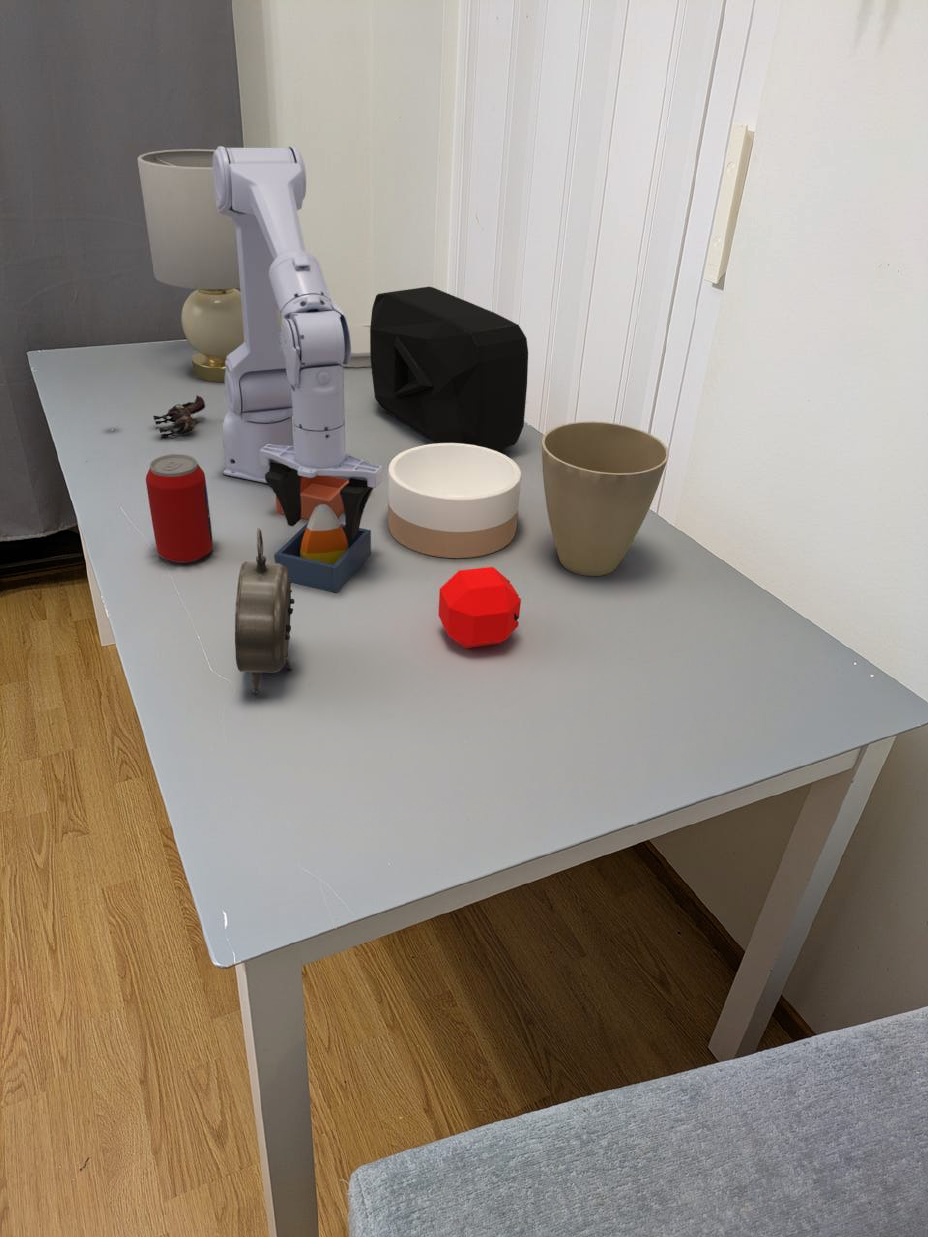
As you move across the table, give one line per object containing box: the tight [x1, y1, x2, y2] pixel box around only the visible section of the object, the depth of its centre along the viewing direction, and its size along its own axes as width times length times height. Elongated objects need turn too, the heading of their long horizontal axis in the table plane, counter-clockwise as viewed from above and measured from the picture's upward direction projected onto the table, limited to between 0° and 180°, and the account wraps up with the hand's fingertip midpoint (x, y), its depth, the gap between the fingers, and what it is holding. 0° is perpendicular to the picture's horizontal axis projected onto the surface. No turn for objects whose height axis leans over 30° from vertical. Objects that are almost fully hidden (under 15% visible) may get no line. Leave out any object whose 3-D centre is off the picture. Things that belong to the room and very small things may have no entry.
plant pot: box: [541, 420, 670, 577], centre depth 112 cm, size 15×15×16 cm
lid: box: [342, 325, 371, 369], centre depth 178 cm, size 17×20×3 cm
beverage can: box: [145, 453, 214, 564], centre depth 110 cm, size 7×7×12 cm
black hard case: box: [369, 286, 529, 452], centre depth 144 cm, size 30×12×20 cm, turn 37°
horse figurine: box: [111, 395, 206, 439], centre depth 143 cm, size 9×4×15 cm
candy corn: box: [300, 504, 349, 565], centre depth 110 cm, size 6×3×8 cm, turn 107°
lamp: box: [137, 148, 244, 383], centre depth 157 cm, size 20×20×35 cm
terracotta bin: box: [275, 475, 349, 521], centre depth 125 cm, size 8×10×3 cm
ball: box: [438, 566, 522, 649], centre depth 99 cm, size 8×8×8 cm
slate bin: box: [274, 522, 372, 593], centre depth 111 cm, size 8×10×3 cm
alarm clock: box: [234, 527, 296, 696], centre depth 90 cm, size 11×5×16 cm, turn 5°
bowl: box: [387, 443, 522, 559], centre depth 120 cm, size 17×17×8 cm
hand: (323, 528), depth 109 cm, fingers open, 7 cm apart
